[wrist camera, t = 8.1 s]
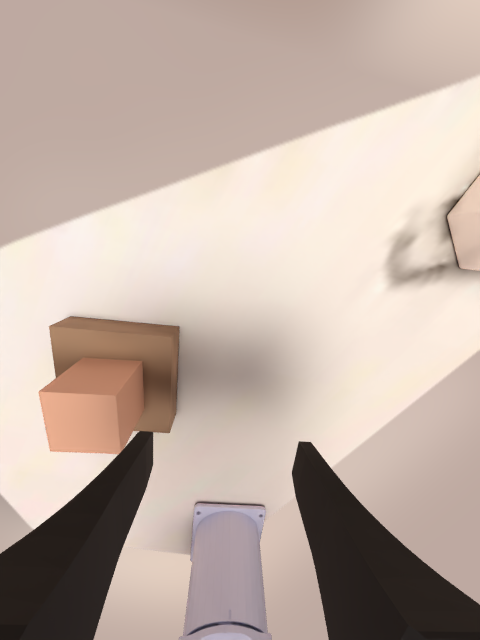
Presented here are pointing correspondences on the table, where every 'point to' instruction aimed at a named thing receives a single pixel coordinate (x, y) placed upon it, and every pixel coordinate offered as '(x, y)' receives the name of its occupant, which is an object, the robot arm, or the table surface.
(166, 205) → the table surface
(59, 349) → the base block
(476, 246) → the jar
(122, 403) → the cube
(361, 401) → the table surface
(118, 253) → the table surface
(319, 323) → the table surface
